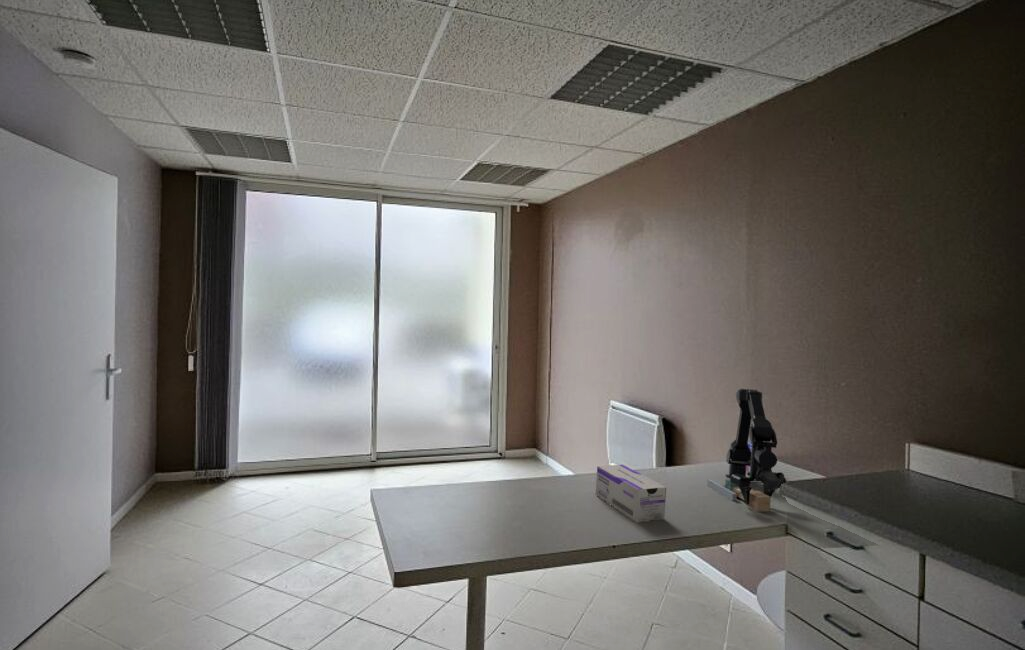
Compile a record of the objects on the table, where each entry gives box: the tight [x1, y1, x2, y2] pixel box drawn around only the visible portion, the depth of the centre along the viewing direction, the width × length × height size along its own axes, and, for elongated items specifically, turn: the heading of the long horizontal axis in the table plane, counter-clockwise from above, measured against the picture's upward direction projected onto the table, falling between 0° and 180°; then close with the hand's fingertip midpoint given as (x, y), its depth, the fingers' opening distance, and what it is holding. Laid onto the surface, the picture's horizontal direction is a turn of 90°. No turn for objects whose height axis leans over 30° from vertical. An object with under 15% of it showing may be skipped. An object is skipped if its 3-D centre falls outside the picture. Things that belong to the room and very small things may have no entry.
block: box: [745, 490, 772, 512], centre depth 187 cm, size 6×5×5 cm
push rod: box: [724, 478, 744, 501], centre depth 196 cm, size 12×5×4 cm, turn 13°
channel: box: [706, 479, 753, 502], centre depth 202 cm, size 16×10×2 cm, turn 13°
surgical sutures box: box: [595, 464, 667, 523], centre depth 181 cm, size 25×11×11 cm, turn 22°
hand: (756, 504), depth 188 cm, fingers open, 7 cm apart
